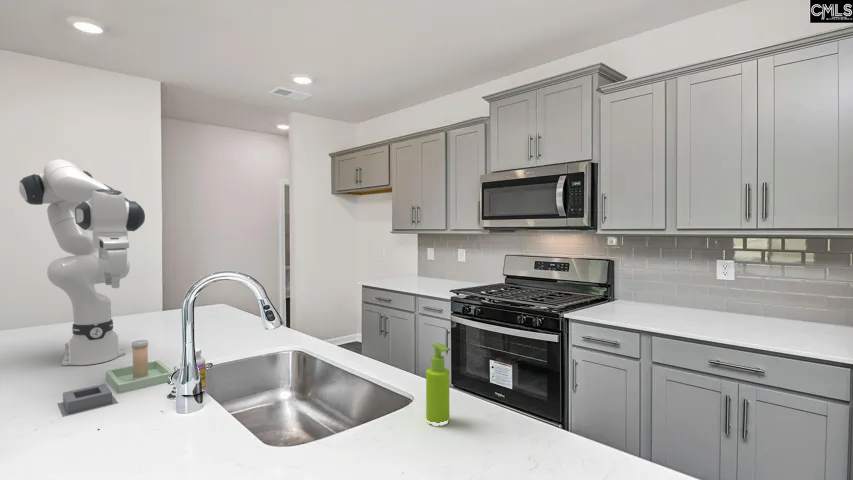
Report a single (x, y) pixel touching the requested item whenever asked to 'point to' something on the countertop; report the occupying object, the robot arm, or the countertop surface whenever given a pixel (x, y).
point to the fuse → (140, 359)
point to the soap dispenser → (437, 387)
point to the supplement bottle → (200, 366)
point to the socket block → (86, 399)
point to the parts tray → (124, 378)
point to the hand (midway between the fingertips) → (112, 286)
